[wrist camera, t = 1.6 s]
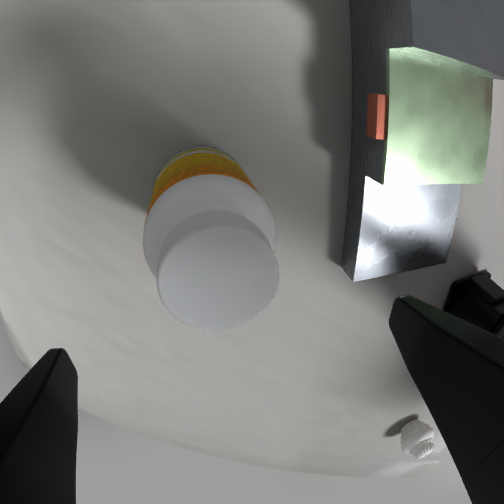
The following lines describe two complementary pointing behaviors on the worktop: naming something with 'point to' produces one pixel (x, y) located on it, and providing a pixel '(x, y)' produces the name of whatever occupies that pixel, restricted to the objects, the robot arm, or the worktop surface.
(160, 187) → the supplement bottle
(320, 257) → the worktop surface
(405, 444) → the muffin
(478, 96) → the stand
